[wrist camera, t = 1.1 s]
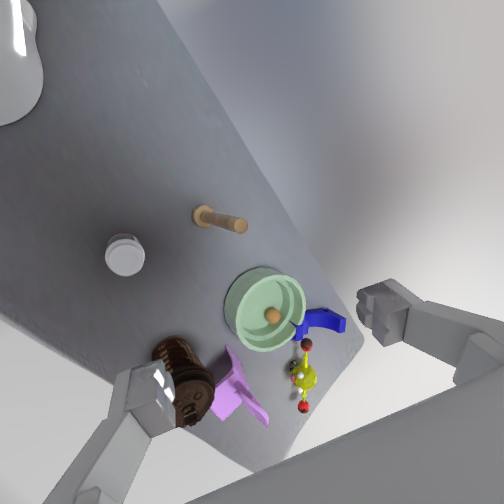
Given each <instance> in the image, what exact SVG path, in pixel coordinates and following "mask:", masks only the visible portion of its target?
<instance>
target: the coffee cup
mask: <svg viewBox="0 0 504 504" xmlns="http://www.w3.org/2000/svg"><path fill="white" fill-rule="evenodd" d="M159 359H162V361H163V362H164V364H165V371H168V372H169V373H170V375H171V377H172V379H173V383H174V389H175V398H174V400H173V402H172V405H173V406H174V408H175V427H176V428H177V427H182V428H183V427H186V425H189V426H190V427H191V426H193V425H195V424H196V423H197V422H199V421H200V420H201V419H202V417H203V416H204V415H205V413H206V412H207V411H208V409H209V408H210V407H211V406H212V402H213V401H214V399H215V396H214V394H215V388H216V387H215V385H216V384H215V379H214V376H213V374H212V372H210V371H209V370H207V369H206V368H205V367H204V366H203V364H202V363H201V362H200V360H199V358H198V357H197V356H196V355H195V354H194V353H193V351H192V350H191V348H190V347H189V345H188V344H187V342H186V341H185V340H184V339H183V338H181V337H179V336H171V337H168V338H166V339H164V340H163V341H161V342H160V343H159V344H158V345H157V346H156V347H155V349H154V350H153V353H152V361H156V360H159Z"/></svg>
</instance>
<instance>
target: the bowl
mask: <svg viewBox="0 0 504 504" xmlns="http://www.w3.org/2000/svg"><path fill="white" fill-rule="evenodd" d="M271 308H275V309H277V310H278V311H279V312H280V315H281V318H280V320H279V321H278V322H277V323H275V324H271V323H269V322H268V321H267V320H266V312H267V311H268V310H269V309H271ZM305 310H306V299H305V295H304V292H303V289H302V287H301V286H300V285H299V283H298V282H297V281H296V280H295V279H293V278H291V277H289V276H287V275H285V274H283V273H281V272H278V271H276V270H274V269H272V268H266V267H260V268H256V269H252V270H249V271H248V272H246V273H244V274H243V275H241V276H240V277H239V278H238V279H237V280H236V281H235V283H234V284H233V285H232V286H231V288H230V290H229V292H228V294H227V296H226V301H225V306H224V312H225V319H226V322H227V324H228V325H229V327H230V329H231V330H232V331H233V333H234V334H235V335H236V336H237V337H238V339H239V340H240V341H241V342H242V343H243V344H244V345H245V346H246V347H248V348H249V349H251V350H254V351H258V352H268V351H273V350H275V349H277V348H280V347H282V346H283V345H284V344H286V343H287V342H288V341H290V340H291V339H292V338H293V336H294V335H295V334H296V328H295V327H294V326H293V324H292V323H291V322H293V323H294V324H296V325H301V324H302V321H303V319H304V315H305ZM289 320H290V321H291V322H290V321H289Z"/></svg>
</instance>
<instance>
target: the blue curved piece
mask: <svg viewBox="0 0 504 504" xmlns="http://www.w3.org/2000/svg"><path fill="white" fill-rule="evenodd" d="M289 321H290V320H289ZM290 322H291V321H290ZM291 323H292V324H293V326H294V327H295V328H296V334H295V335H294V336H293V338H292V339H291V340H295V341H299V340H303V335H304V334H308V327H324V328H328V329H331V330H334V331H336V332H338V333H343V332H345V325H346V318H344V317H342V316H340V315H339V314H337V313H335V312H333V311H331V310H329V309H328V308H326V309H319V310H312V311H305V315H304V319H303V321H302V324H301V325H296V324H294V323H293V322H291ZM291 340H290V341H291Z"/></svg>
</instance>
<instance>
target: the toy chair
mask: <svg viewBox="0 0 504 504" xmlns="http://www.w3.org/2000/svg"><path fill="white" fill-rule="evenodd" d="M225 346H226V348H227V351H228V353H229V356H230V358H231V361H232V369H231V370H230V372H229V373H228V374H227V375H226V376H225V377H224V378H223V379H222V380H221V381H220V382H219V383H217V384H216V385H215V387H216V388H215V394H214V396H215V399H214V401H213V402H212V406H211V407H210V409H211V411H212V412H213V413H214V414H215V415H216V416H217V417H219V418H220V419H221V420H222V421H224V420H225V419H226V418H227V417H228V416H229V415H230V414H231V413H232V412H233V411H234V410H235V409H236V408H237V407H238V406H239V405H240V404H241V403H243V402H244V404H245V406H246V407H247V409H248V411H249V412H250V414H251V415H253V416H254V417H255V418H257V419H258V420H259V421H260V422H261V423H262V424H263V425H264V426H265V427H268V424H269V417H268V415H267V413H266V412H265V411H264V410H263V409H261V408H260V407H261V405H260V403H259V402H258V401H257V399H256V398H255V397H254V396H253V395H252V394H251V393H250V392H249V390H250V387H249V384H248V382H247V380H246V378H245V376H244V374H243V371H242V364H241V363H240V362H239V360H238V359H237V357H236V356H235V355H234V353H233V352H232V351H231V349H230V348H229V347H228V345H225Z"/></svg>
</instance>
